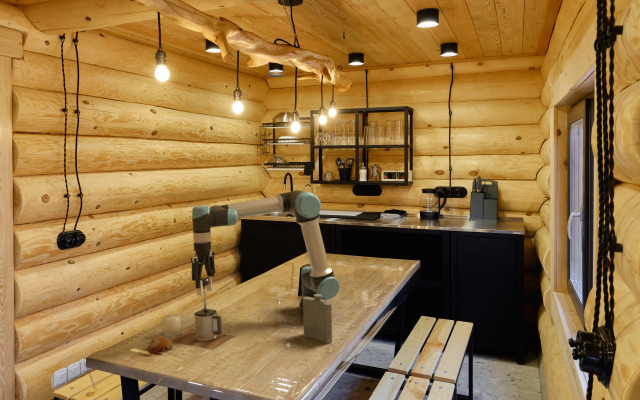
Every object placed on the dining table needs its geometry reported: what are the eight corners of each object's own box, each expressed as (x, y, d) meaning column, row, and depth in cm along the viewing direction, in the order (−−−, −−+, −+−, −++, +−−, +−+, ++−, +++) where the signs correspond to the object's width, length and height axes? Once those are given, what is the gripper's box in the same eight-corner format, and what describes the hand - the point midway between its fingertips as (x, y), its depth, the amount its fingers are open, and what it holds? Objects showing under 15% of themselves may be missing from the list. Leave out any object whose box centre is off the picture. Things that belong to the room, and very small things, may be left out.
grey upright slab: (302, 335, 223) (301, 292, 221) (308, 332, 226) (307, 290, 224) (329, 344, 213) (328, 299, 211) (335, 341, 216) (334, 297, 214)
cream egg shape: (185, 334, 227) (184, 315, 226) (173, 341, 219) (172, 321, 218) (169, 331, 230) (168, 313, 229) (157, 337, 223) (156, 318, 222)
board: (234, 338, 221) (234, 335, 221) (212, 352, 207) (212, 349, 206) (192, 330, 231) (192, 328, 231) (168, 343, 217) (168, 340, 217)
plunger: (217, 315, 221) (215, 277, 219) (207, 321, 214) (205, 281, 212) (204, 313, 224) (202, 276, 222) (194, 319, 217) (192, 280, 215)
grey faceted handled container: (227, 335, 221) (226, 310, 220) (213, 343, 212) (212, 317, 211) (204, 331, 227) (203, 306, 225) (190, 339, 218) (189, 313, 216)
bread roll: (166, 353, 216) (160, 335, 217) (179, 348, 210) (173, 330, 211) (147, 361, 208) (141, 343, 209) (160, 356, 202) (154, 337, 203)
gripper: (208, 237, 225) (211, 286, 228) (180, 245, 208) (183, 298, 211) (222, 238, 222) (224, 287, 225) (194, 246, 205) (197, 300, 208)
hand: (204, 292), depth 218 cm, fingers open, 6 cm apart
